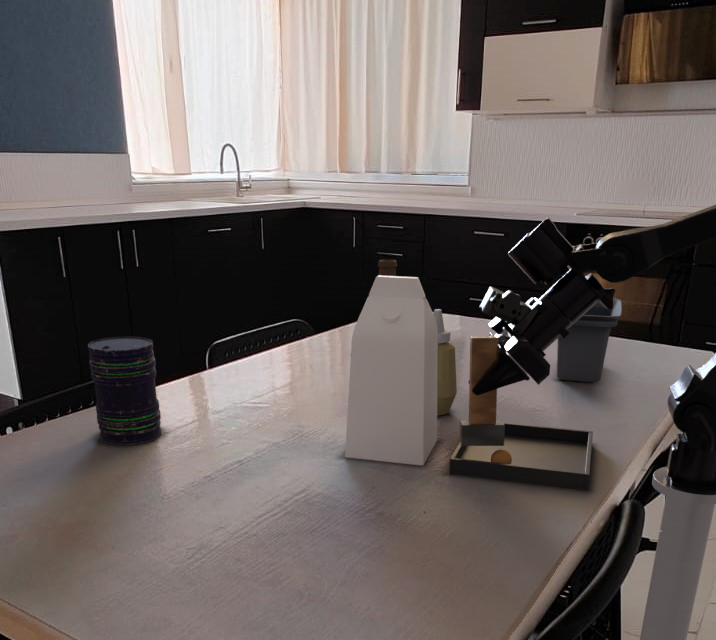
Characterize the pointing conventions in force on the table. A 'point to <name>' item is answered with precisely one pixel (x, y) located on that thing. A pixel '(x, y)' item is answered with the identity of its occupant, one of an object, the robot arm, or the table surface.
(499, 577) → the table surface
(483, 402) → the wooden block on stand
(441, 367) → the squeeze bottle
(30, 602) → the table surface
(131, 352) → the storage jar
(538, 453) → the pan
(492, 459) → the tan round ball
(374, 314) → the milk
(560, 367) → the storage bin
